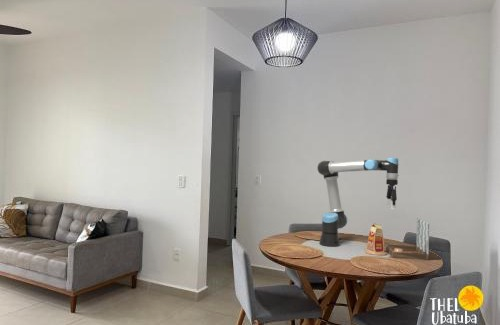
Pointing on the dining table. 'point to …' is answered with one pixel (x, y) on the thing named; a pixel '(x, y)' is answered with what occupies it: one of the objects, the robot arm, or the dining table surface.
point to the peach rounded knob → (397, 250)
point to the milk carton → (375, 239)
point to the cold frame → (420, 247)
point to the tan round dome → (375, 253)
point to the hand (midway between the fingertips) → (390, 208)
